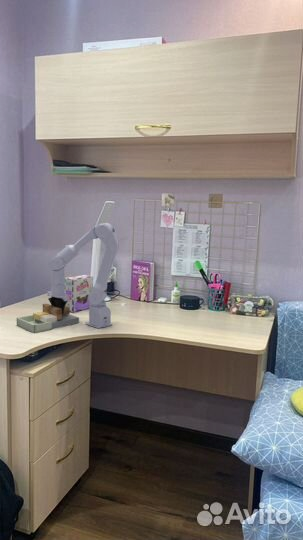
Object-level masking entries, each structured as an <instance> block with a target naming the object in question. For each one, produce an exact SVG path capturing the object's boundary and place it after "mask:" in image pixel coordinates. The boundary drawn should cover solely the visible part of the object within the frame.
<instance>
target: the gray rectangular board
mask: <svg viewBox="0 0 303 540" xmlns="http://www.w3.org/2000/svg"><path fill="white" fill-rule="evenodd" d="M76 324H80V317H79V316H75V315H73V314H71V313H70V314H67V315H62V319H59V320H57V321H55V322H47V323H45V322H43V321H40V320H38V319H35V318H33V314H31V315H24V316H19V317H16V326H18V327H20V328H22V329H25V330H27V331H28V332H31V333H33V334H37V333H41V332H45V331H46V332H47V331H51V330H53V329H57V328H62V327H68V326H72V325H76Z"/></svg>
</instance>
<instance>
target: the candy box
mask: <svg viewBox="0 0 303 540" xmlns="http://www.w3.org/2000/svg"><path fill="white" fill-rule="evenodd" d="M93 276H94V275H88V274H82V275H76V276H71V277H64V279H65V294H66V295H67V296H69V301H68V302H67V303H66V305H65V306H68V307H70V313H73V314H74V313H77V312H80V311H85V310H89V301H88V295H89V293H90V292H91V291H92V289H93V287H94V285H93V284H94V277H93Z"/></svg>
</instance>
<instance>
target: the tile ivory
mask: <svg viewBox="0 0 303 540" xmlns="http://www.w3.org/2000/svg"><path fill="white" fill-rule="evenodd" d="M40 321H43V322H45V323H47V322H55V321H57V316H54V315H52V314H48V315H43V316H40Z"/></svg>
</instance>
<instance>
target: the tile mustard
mask: <svg viewBox="0 0 303 540" xmlns="http://www.w3.org/2000/svg"><path fill="white" fill-rule="evenodd" d="M32 313H33V314H32V315H33V318H34V320H35V319H38V320H40V316H43V315H48V314H49V313H46V312H44V311H43V310H42V311H38V312H32Z"/></svg>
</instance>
